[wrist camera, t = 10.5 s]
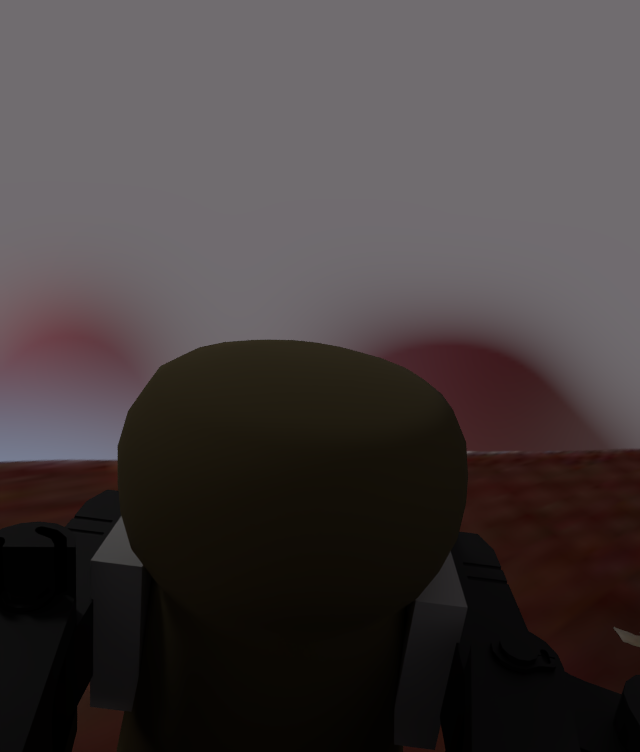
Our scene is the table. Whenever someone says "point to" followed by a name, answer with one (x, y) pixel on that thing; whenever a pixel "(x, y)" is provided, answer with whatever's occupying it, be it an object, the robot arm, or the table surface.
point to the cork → (282, 543)
